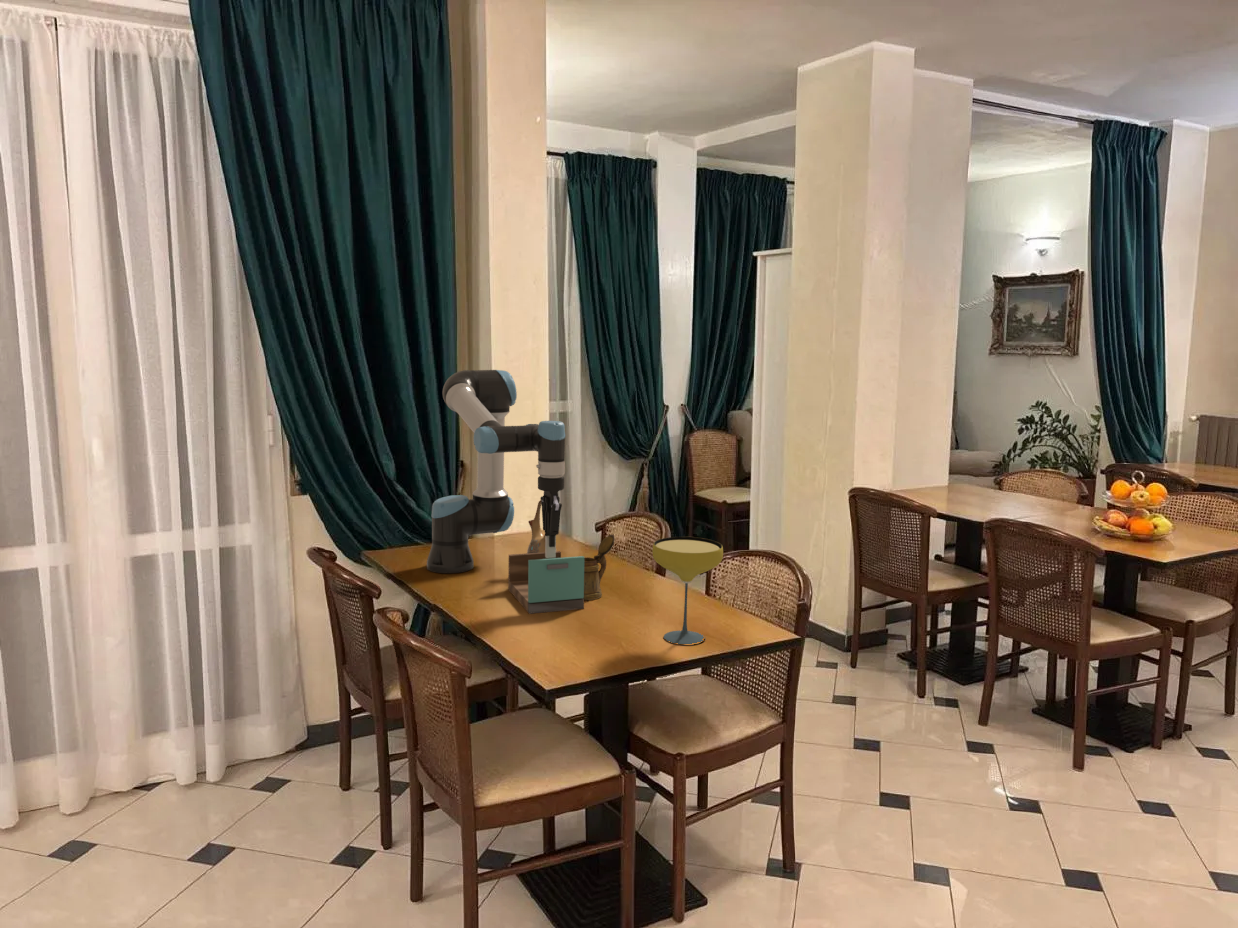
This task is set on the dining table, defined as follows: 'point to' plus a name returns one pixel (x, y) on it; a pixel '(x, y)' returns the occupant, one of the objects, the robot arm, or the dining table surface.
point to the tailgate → (555, 579)
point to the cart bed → (520, 585)
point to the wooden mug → (596, 569)
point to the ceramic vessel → (536, 534)
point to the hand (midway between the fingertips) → (550, 556)
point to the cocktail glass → (686, 570)
